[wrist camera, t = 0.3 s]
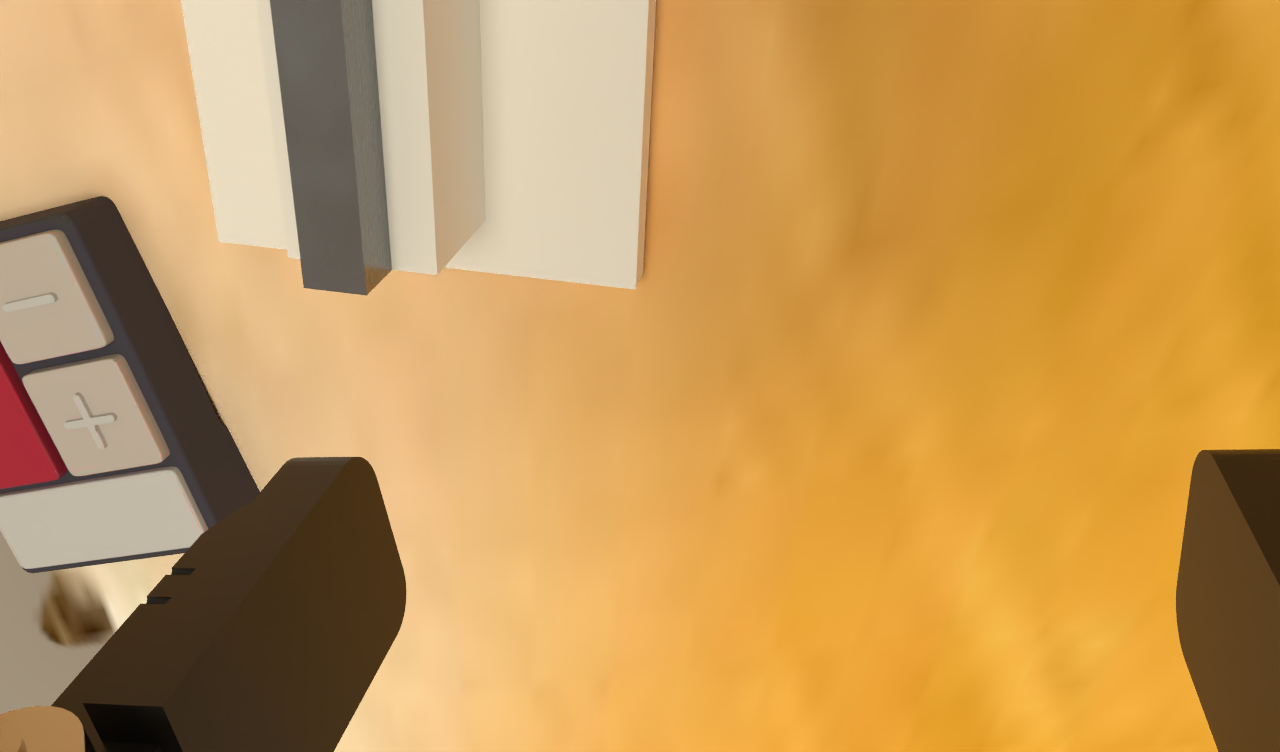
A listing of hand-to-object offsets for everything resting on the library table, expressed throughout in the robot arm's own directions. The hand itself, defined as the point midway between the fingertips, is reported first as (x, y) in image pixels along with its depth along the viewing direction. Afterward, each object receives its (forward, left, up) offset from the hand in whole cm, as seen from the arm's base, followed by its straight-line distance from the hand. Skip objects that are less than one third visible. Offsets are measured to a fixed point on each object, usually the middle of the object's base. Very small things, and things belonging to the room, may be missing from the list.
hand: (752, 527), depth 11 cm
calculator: (+17, -30, -28) cm, 44 cm away
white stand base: (-1, -14, -27) cm, 30 cm away
